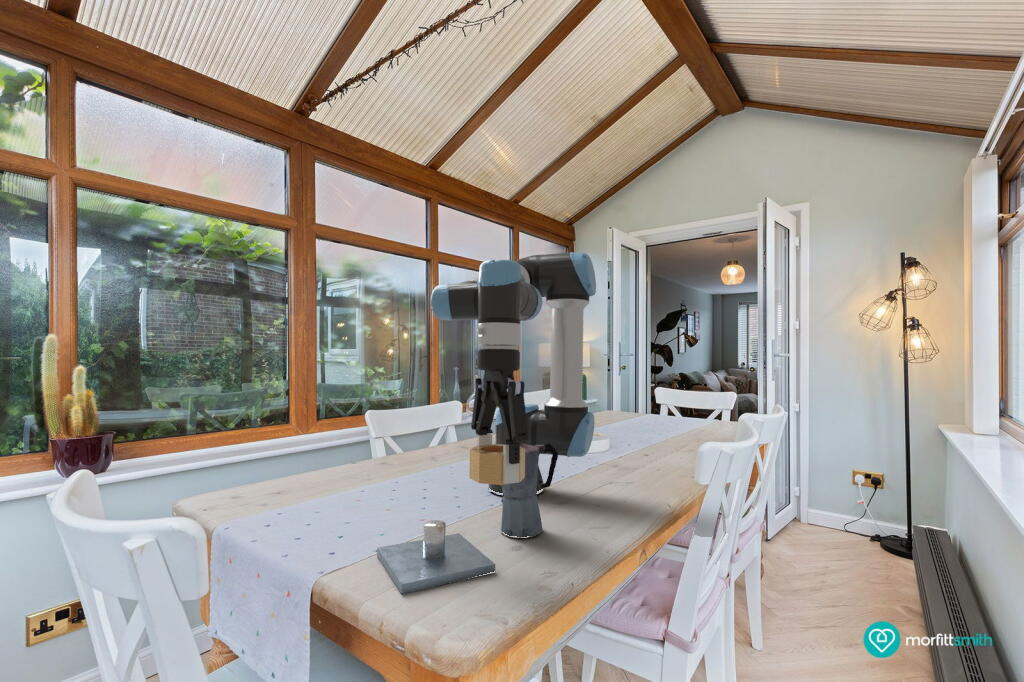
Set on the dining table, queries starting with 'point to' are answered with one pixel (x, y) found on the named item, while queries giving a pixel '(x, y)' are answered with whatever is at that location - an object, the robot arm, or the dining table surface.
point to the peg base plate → (433, 560)
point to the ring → (491, 464)
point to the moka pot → (526, 495)
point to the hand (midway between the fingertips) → (497, 476)
